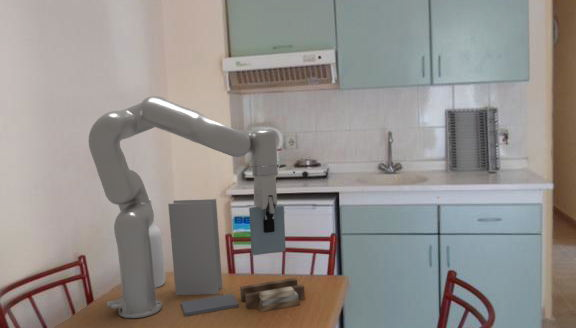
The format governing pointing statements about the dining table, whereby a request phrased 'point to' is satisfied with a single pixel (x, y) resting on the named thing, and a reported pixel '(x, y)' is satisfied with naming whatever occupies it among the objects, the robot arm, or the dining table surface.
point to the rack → (252, 291)
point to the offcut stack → (277, 299)
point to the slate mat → (209, 304)
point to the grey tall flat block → (195, 247)
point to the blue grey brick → (267, 241)
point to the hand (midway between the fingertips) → (267, 230)
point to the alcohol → (157, 254)
